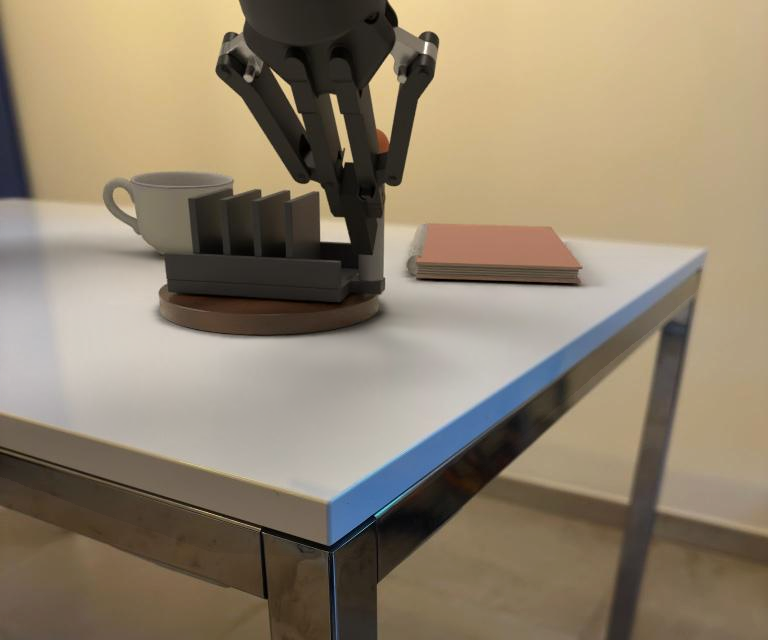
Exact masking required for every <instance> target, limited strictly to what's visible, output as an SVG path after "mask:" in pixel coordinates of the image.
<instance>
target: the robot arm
mask: <svg viewBox="0 0 768 640" xmlns="http://www.w3.org/2000/svg"><path fill="white" fill-rule="evenodd" d="M238 3H239V6H240V9H241V12H242V14H243V16H244V24H243V27H242V32H240V33H238V32H234V31H227V32H225V34H224V35H223V38H222V42H221V46H220V49H219V54H218V57H217V61H216V64H215V69H214V71H215V74H216V76H217V77H218V78H219V79H220V80H221V81H222V82H223V83H224V84H225V85H227V86H228V87H229V88H230V89H231V90H232V91H234V93H235V94H237V95H238V96H239V97H240V98H241V99H242V101H243V102H244V104H245V106H246V107H247V109H248V111H249V112H250V113H251V115H252V116H253V118H254V120H255V122H256V123H257V125H258V126H259V128H260V129H261V131H262V132H263V134H264V135H265V137H266V138H267V140H268V142H269V143H270V145H271V147H272V148H273V149H274V151H275V153H276V155H278V158H279V159H280V161H281V162H282V164H283V165H284V167H285V168H286V170H287V172H288V173H289V175H290V177H291V178H292V180H294V182H295V183H297V184H299V185H307V184H309V183H310V182H311V181H312V182H315V183H318V184H319V185H320V187H321V188H322V189H323V190H324V193H325V197H326V199H327V204H328V208H329V212H330V214H331V215H332V216H333V217H334V218H344V221H345V226H346V230H347V234H348V238H349V243H351V246H352V250H353V254H356V255H373V251H374V245H375V239H376V233H377V227H378V224H377V218H381V217H382V215H383V211H384V205H386V199H387V197H386V189H385V190H384V183H385V185H387V186H390V187H399V186H401V184H402V182H403V177H404V172H405V167H406V163H407V158H408V152H409V147H410V142H411V137H412V132H413V127H414V122H415V118H416V114H417V113H416V112H417V108H418V103H419V99H420V98H421V97H422V95H423V93H424V92H425V91H426V90H427V88H428V87H429V86H430V84H431V83H432V82H433V80H434V77H435V74H436V73H435V72H436V67H437V60H438V54H439V47H440V38H439V36H438V34H436V33H435V32H433V31H431V30H429V31H428V30H426V31H423V32H421V33H420V34H419V35H418V36H417V35H414V34H412V33H410V32H409V31H407V30H405V29H404V28H402V27H400V26H399V18H398V15H397V12H396V11H395V9H394V8H393V6H392V5H391V3H390V1H389V0H238ZM389 55H391V56H392V57H393V61H394V62H393V67H392V69H393V72H394V74H395V76H396V81H397V83H399V85H398V91H397V97H396V103H395V107H394V114H393V120H392V127H391V133H390V139H389V149H388V151H387V152H383V153H380V148H379V142H378V136H377V130H376V129H377V125H376V118H375V113H374V106H373V100H372V94H371V89H370V83H371V81H372V80H373V78H374V77H375V76H376V74H377V73H378V71H379V70H380V69H381V66H382V65H383V63H384V62H385V61H386V60H387V58H388V56H389ZM273 72H274V73H275V74H276V75H277V76H278V77H280V78H281V79H282V80H283V81H284V82H285V83H286V84H287V85H288V86H289V87H290V89H291V93H292V97H293V101H294V104H295V107H296V111H297V113H298V115H299V114H300V115H301V118H302V121H301V120H300V118H299V116H298V115H297V113H296V111H295V109H294V108H293V105H292V104H291V103H290V101H289V99H288V97H287V96H286V93H285V91H284V90H283V88H282V87H281V84H280V83H279V81H278V79H277V77H276V75H274V73H273ZM331 95H334V96H335V97H336V101H337V105H338V110H339V114H340V115H342V116H343V121H344V125H345V126H344V127H345V130H346V134H347V140H348V143H349V144H348V145H349V148H350V154H351V157H352V158H351V159H352V161H344V157H345V152H346V147H343V149H342V143H341V140H340V135H339V130H338V125H337V121H336V116H335V112H334V107H333V104H332V98H331ZM302 122H303V123H302ZM343 162H344V163H343Z"/></svg>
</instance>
